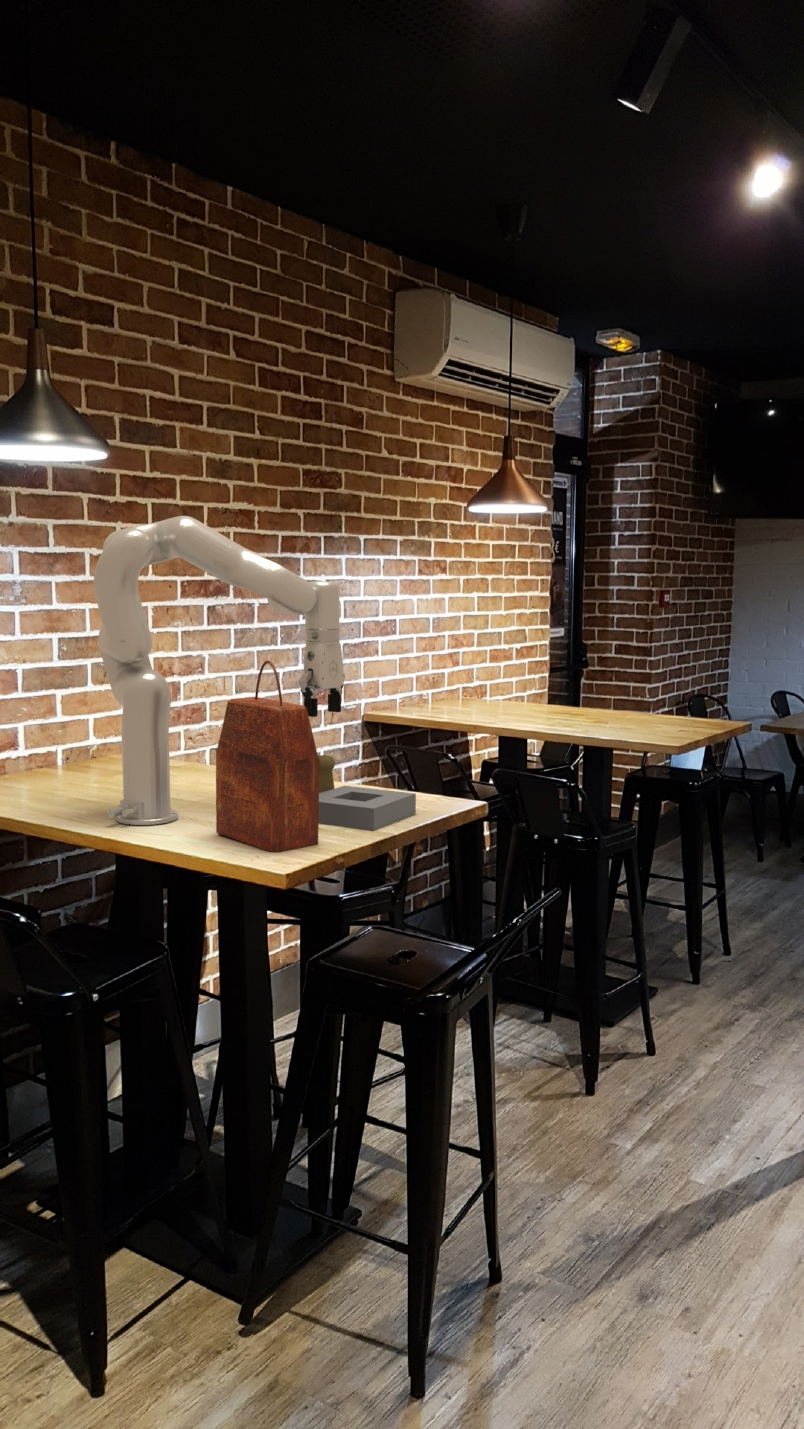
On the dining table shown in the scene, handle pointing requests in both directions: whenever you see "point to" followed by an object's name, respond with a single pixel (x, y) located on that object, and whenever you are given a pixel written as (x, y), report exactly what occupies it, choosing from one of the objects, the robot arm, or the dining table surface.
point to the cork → (326, 773)
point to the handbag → (267, 774)
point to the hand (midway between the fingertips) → (322, 714)
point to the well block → (364, 807)
